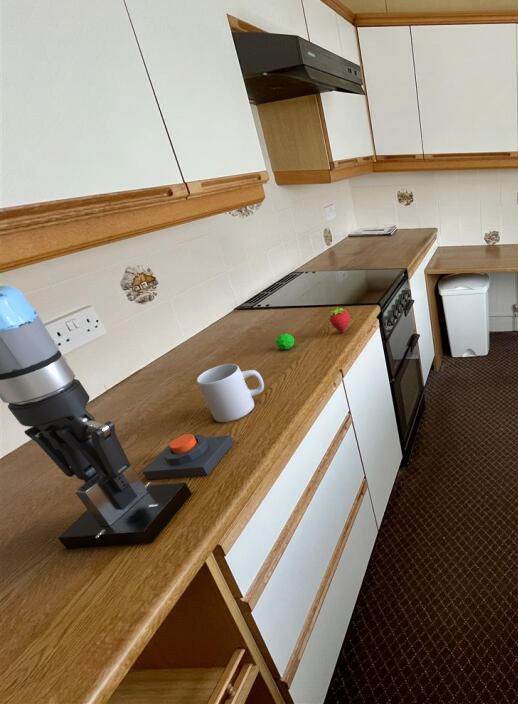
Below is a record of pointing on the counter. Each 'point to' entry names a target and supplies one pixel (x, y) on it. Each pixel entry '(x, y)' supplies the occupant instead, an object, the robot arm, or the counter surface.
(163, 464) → the button box
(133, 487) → the grey metallic block
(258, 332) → the counter surface
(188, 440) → the button
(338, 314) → the strawberry
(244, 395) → the mug
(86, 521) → the panel
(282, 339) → the polyhedron
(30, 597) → the counter surface
